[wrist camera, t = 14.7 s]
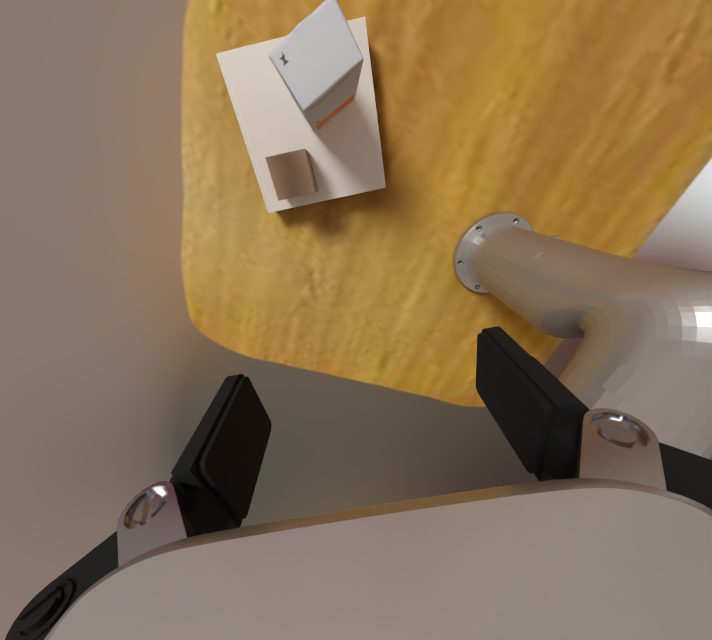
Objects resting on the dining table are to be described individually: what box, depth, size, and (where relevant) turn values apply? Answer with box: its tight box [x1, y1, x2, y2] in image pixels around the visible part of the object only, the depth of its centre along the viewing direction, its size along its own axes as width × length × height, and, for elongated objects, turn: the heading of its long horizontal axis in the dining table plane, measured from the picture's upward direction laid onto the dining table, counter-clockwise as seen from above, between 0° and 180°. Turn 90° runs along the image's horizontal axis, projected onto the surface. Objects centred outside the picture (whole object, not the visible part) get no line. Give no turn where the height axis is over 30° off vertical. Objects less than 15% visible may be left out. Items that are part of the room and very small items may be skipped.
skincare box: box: [269, 0, 364, 133], centre depth 25 cm, size 6×4×12 cm
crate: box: [265, 149, 318, 201], centre depth 32 cm, size 4×4×4 cm
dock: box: [216, 17, 386, 213], centre depth 33 cm, size 16×16×3 cm
